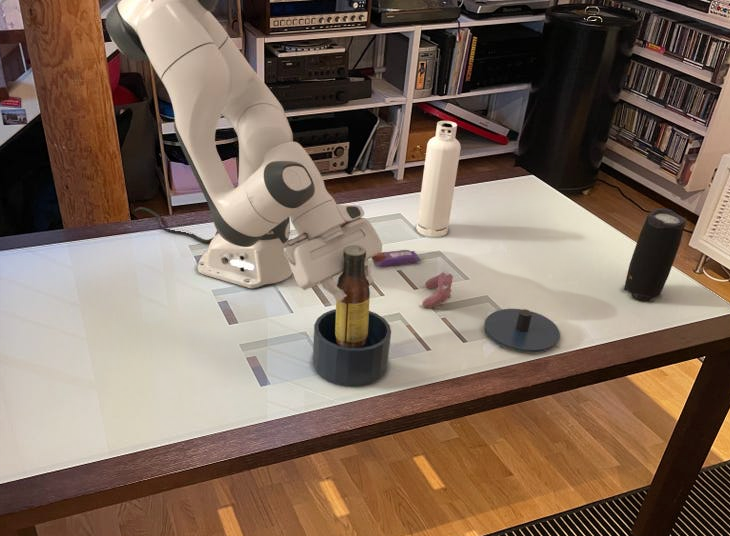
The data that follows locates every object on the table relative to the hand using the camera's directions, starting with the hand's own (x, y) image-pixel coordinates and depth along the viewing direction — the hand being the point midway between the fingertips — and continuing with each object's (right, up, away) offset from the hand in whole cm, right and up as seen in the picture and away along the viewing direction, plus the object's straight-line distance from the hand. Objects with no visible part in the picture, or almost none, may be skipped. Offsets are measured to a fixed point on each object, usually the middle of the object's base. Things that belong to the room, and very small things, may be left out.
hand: (356, 292), depth 140 cm
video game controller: (+20, +1, +31) cm, 37 cm away
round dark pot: (-1, -13, +10) cm, 17 cm away
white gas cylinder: (+24, +21, +59) cm, 67 cm away
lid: (+36, -6, +21) cm, 42 cm away
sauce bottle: (-1, -9, +7) cm, 12 cm away
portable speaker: (+68, +3, +36) cm, 77 cm away
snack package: (+12, +11, +45) cm, 48 cm away
